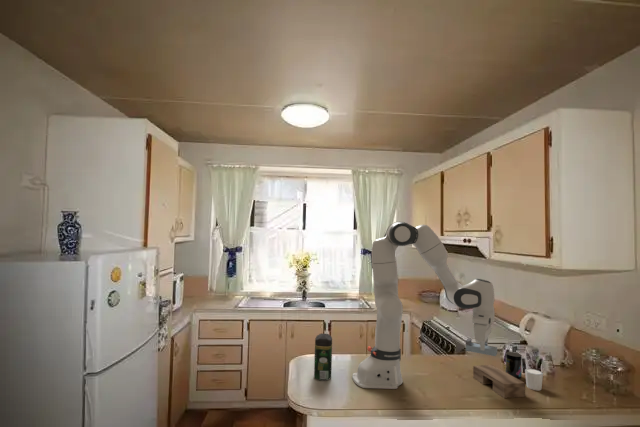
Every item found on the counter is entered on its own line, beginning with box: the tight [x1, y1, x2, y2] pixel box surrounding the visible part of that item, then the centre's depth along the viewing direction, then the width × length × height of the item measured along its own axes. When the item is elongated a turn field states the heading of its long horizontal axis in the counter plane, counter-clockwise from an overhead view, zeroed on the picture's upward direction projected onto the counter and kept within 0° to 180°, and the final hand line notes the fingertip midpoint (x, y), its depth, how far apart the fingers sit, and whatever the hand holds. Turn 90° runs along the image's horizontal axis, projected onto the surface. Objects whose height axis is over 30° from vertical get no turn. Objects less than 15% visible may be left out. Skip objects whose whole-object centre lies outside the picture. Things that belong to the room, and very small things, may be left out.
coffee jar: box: [313, 333, 333, 381], centre depth 159 cm, size 10×8×19 cm
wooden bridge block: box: [472, 364, 526, 399], centre depth 154 cm, size 10×20×6 cm, turn 12°
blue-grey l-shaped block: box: [465, 337, 498, 357], centre depth 154 cm, size 12×5×4 cm, turn 56°
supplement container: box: [505, 351, 523, 380], centre depth 167 cm, size 7×7×10 cm
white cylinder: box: [524, 368, 544, 391], centre depth 155 cm, size 7×7×7 cm
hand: (483, 348), depth 154 cm, fingers closed on blue-grey l-shaped block, 5 cm apart
